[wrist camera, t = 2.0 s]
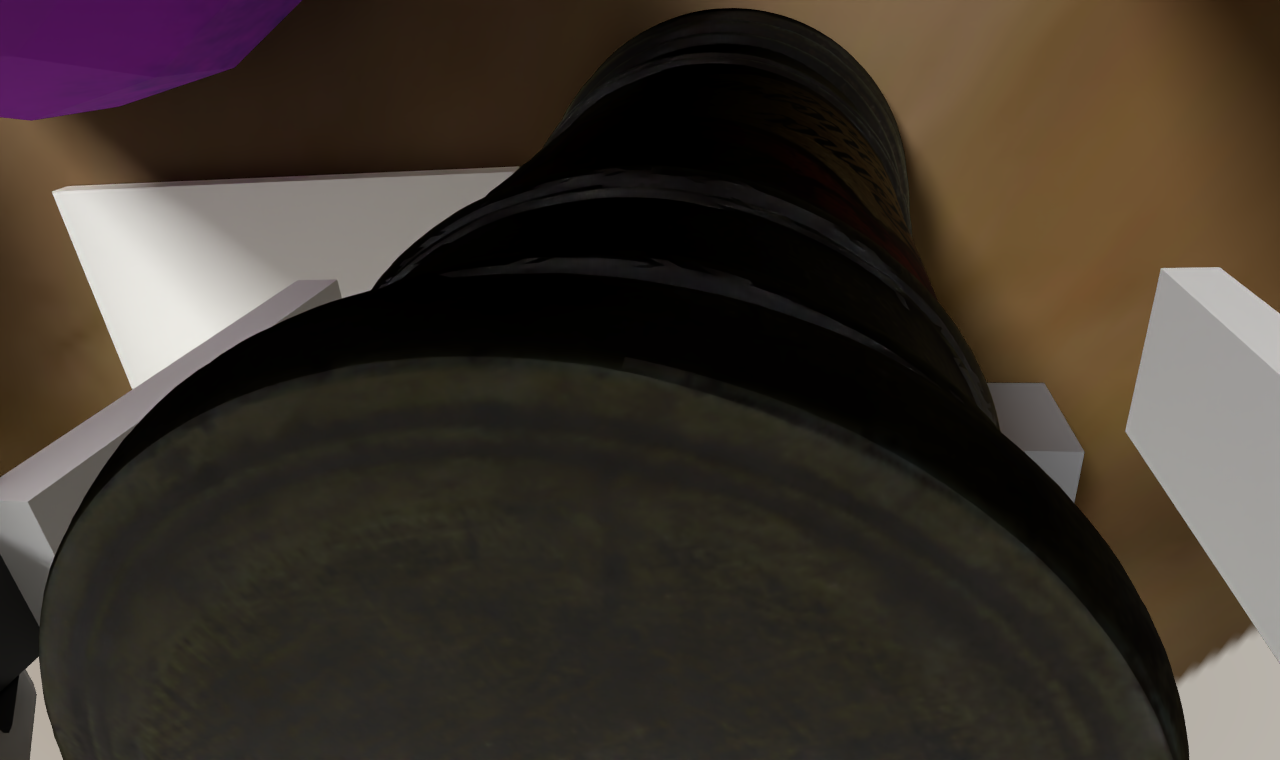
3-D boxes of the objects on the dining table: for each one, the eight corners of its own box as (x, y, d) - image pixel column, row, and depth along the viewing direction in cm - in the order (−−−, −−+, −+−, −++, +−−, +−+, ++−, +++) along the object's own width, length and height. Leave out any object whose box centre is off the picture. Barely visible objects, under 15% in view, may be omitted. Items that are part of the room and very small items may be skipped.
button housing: (784, 571, 27) (784, 651, 24) (785, 382, 24) (784, 447, 21) (1011, 581, 26) (1041, 666, 23) (1044, 383, 23) (1084, 452, 20)
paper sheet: (214, 557, 31) (205, 568, 30) (67, 185, 25) (51, 191, 24) (578, 573, 28) (574, 585, 28) (520, 166, 22) (513, 171, 22)
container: (768, 405, 24) (736, 1251, 9) (504, 239, 23) (-89, 868, 7) (984, 144, 20) (1698, 874, 4) (674, -74, 19) (123, -142, 3)
